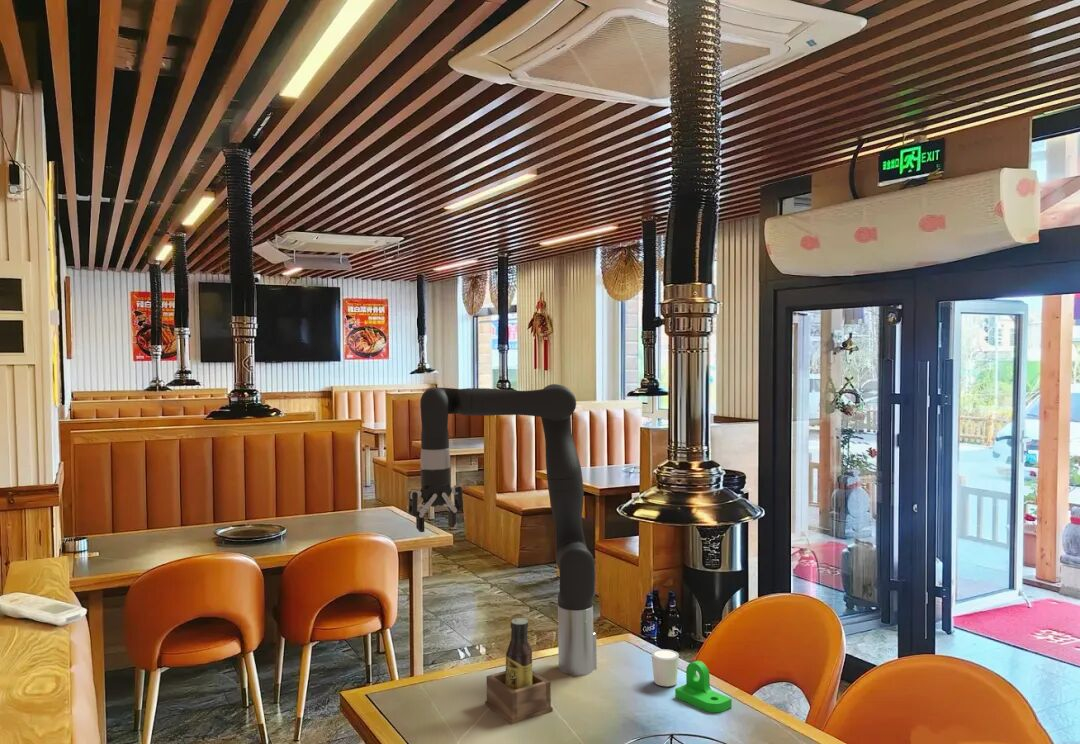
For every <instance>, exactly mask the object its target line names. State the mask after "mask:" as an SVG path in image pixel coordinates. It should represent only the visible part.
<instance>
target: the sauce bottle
mask: <svg viewBox="0 0 1080 744" xmlns="http://www.w3.org/2000/svg"><path fill="white" fill-rule="evenodd" d="M510 628H511V637H510V641H509V644H508V648H507V650H506V653H505V671H506V685H507V686H508V687H510V688H511V689H513V690H517V689H520V688H523V687H527V686H530V685H532V671H533V650H532V646H531V645H530V643H529V641H528V629H529V621H528V620H527V618H523V617H522V618H521V617H517V618H513V619H512V620H510Z"/></svg>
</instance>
